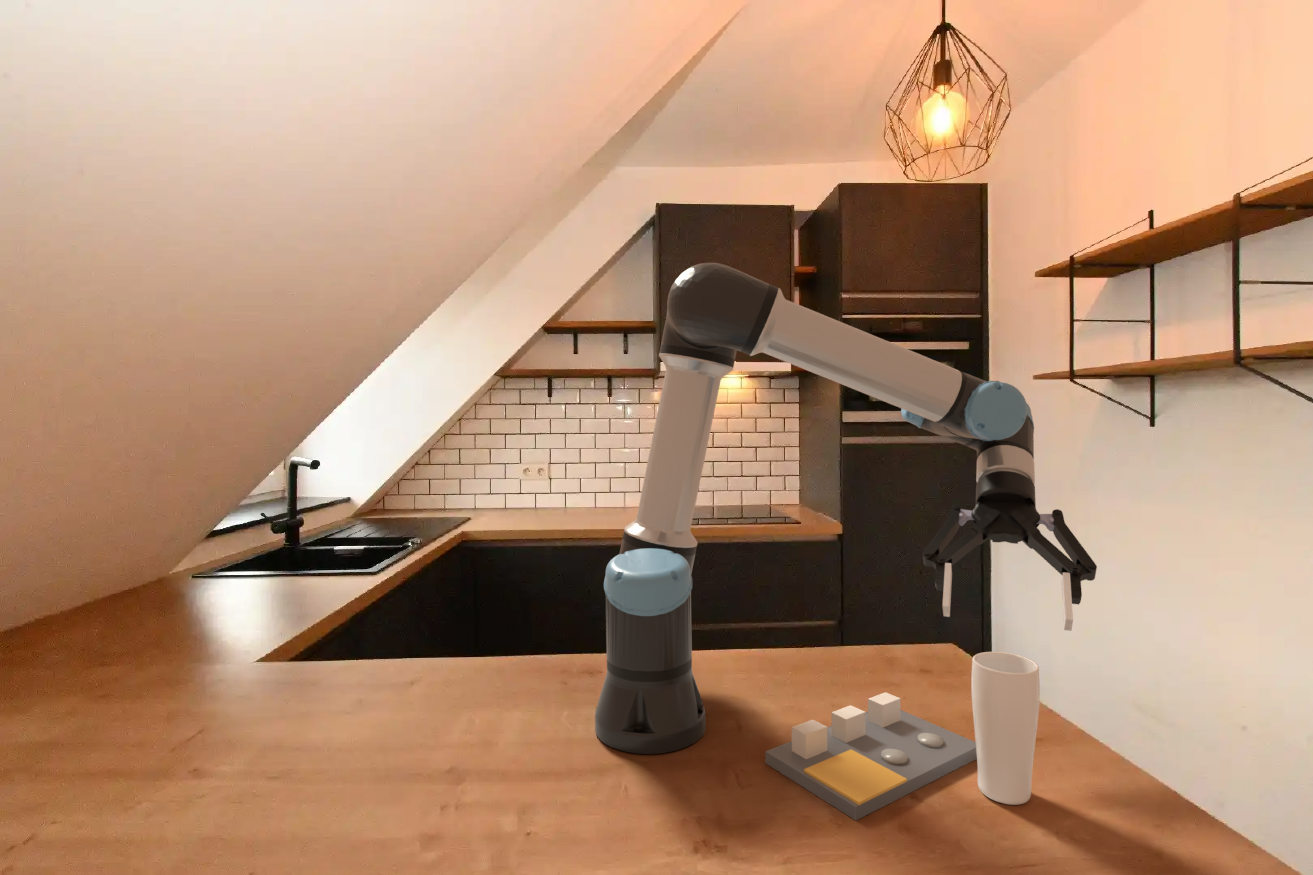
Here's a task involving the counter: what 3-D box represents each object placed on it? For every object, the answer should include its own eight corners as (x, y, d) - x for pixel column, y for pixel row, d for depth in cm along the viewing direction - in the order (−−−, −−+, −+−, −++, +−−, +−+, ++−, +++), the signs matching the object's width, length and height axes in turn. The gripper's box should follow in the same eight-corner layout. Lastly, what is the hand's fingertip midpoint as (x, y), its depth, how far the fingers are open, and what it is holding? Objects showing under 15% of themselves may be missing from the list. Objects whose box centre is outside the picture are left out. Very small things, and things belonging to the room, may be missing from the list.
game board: (765, 763, 83) (765, 727, 83) (887, 714, 96) (887, 683, 96) (855, 820, 72) (855, 778, 71) (981, 756, 84) (981, 720, 84)
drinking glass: (1036, 818, 72) (1038, 678, 71) (966, 799, 75) (967, 666, 74) (1040, 787, 77) (1041, 657, 77) (974, 771, 81) (975, 647, 80)
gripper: (1105, 505, 95) (1121, 646, 82) (914, 497, 106) (902, 620, 93) (1111, 470, 90) (1129, 615, 77) (910, 466, 101) (897, 591, 88)
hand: (1005, 618), depth 85 cm, fingers open, 13 cm apart
